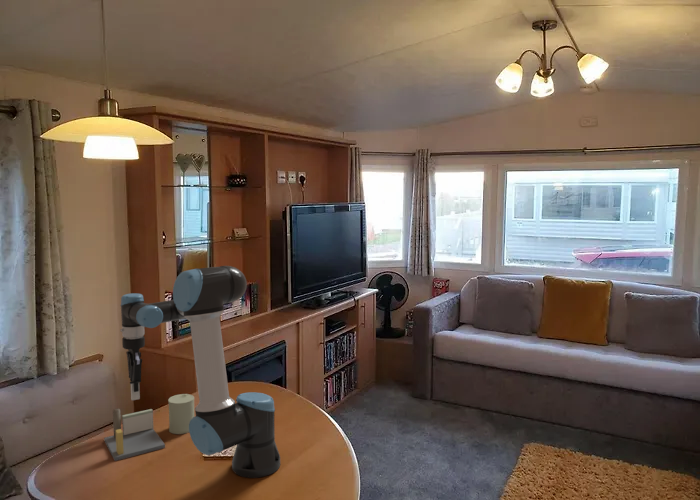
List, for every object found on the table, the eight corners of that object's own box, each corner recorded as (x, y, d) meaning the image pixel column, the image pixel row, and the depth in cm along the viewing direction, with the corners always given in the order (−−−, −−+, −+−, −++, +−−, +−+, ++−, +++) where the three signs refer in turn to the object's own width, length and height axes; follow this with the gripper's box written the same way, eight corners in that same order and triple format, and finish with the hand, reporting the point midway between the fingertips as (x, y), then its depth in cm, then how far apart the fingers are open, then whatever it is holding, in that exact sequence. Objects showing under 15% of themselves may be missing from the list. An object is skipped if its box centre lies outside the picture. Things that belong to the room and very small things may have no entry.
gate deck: (165, 447, 182) (164, 416, 181) (114, 461, 173) (113, 428, 172) (151, 429, 196) (150, 400, 195) (104, 440, 187) (102, 410, 186)
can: (199, 423, 201) (198, 393, 200) (189, 434, 192) (188, 402, 191) (175, 422, 202) (174, 392, 201) (164, 433, 193) (163, 401, 192)
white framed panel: (123, 435, 188) (123, 416, 187) (122, 433, 189) (122, 415, 189) (153, 428, 194) (152, 410, 193) (152, 426, 195) (151, 408, 194)
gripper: (118, 333, 197) (120, 395, 200) (126, 342, 186) (128, 407, 189) (139, 330, 201) (141, 391, 204) (148, 339, 191) (150, 402, 194)
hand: (135, 398), depth 197 cm, fingers closed
